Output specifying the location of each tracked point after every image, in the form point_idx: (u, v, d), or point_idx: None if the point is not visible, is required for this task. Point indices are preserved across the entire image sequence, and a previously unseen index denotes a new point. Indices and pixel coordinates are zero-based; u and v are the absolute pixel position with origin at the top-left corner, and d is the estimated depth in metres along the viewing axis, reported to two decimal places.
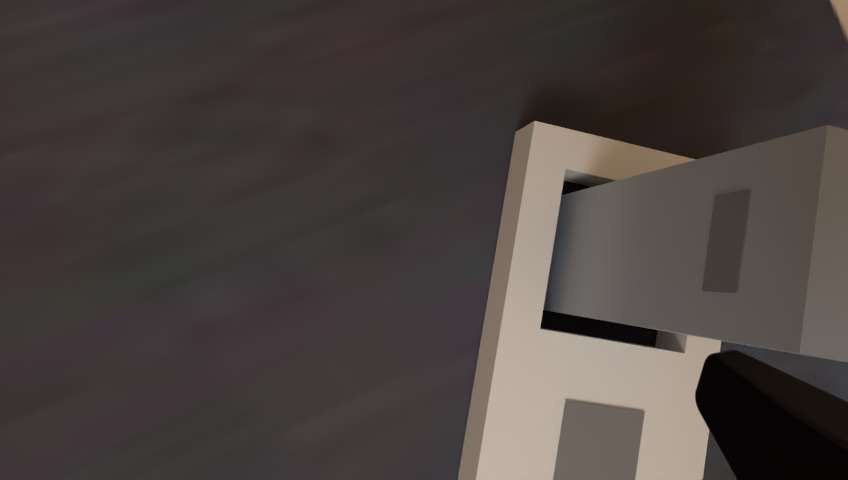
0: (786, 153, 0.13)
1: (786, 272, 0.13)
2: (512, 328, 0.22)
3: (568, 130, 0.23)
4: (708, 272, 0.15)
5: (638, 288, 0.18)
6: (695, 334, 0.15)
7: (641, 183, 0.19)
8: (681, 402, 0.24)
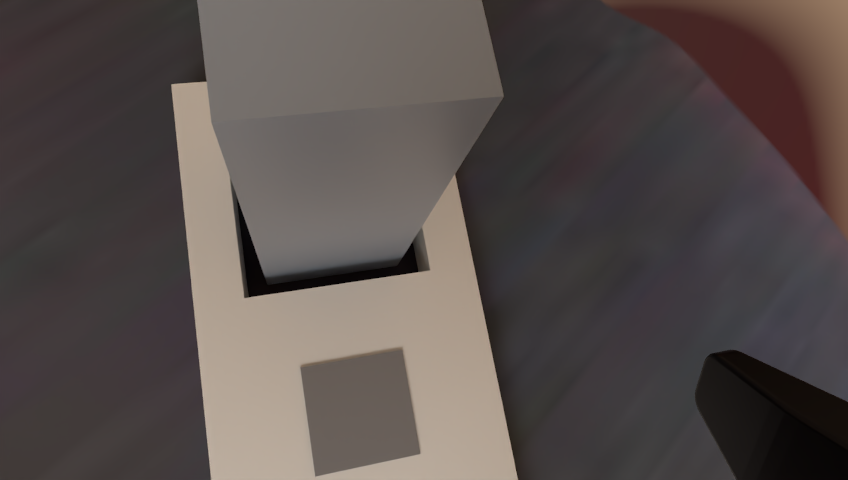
0: None
1: None
2: (209, 308, 0.19)
3: None
4: None
5: None
6: (235, 191, 0.12)
7: None
8: (444, 324, 0.20)
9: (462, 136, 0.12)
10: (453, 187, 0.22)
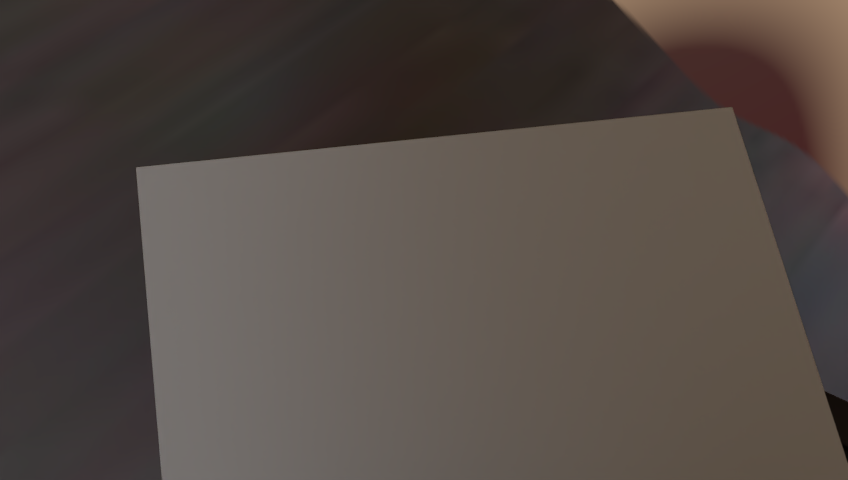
0: None
1: None
2: None
3: None
4: None
5: None
6: None
7: None
8: None
9: None
10: None
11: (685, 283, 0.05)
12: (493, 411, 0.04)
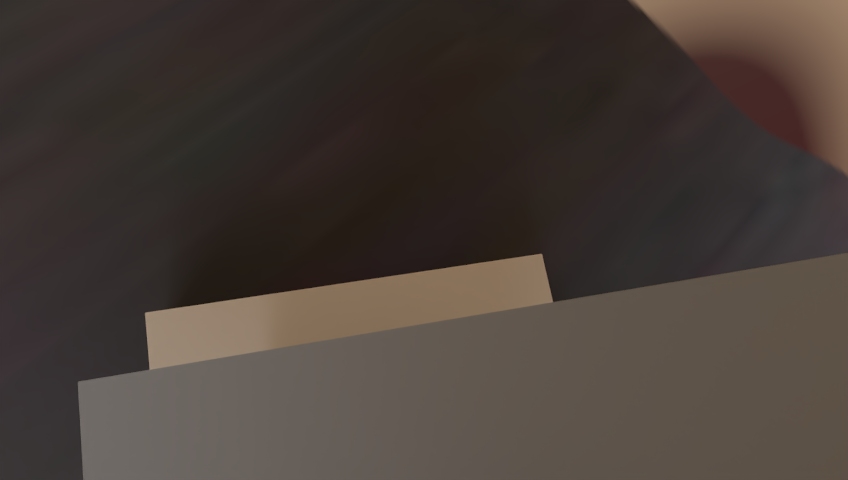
0: None
1: None
2: None
3: (213, 305, 0.13)
4: None
5: None
6: None
7: None
8: None
9: None
10: None
11: None
12: None
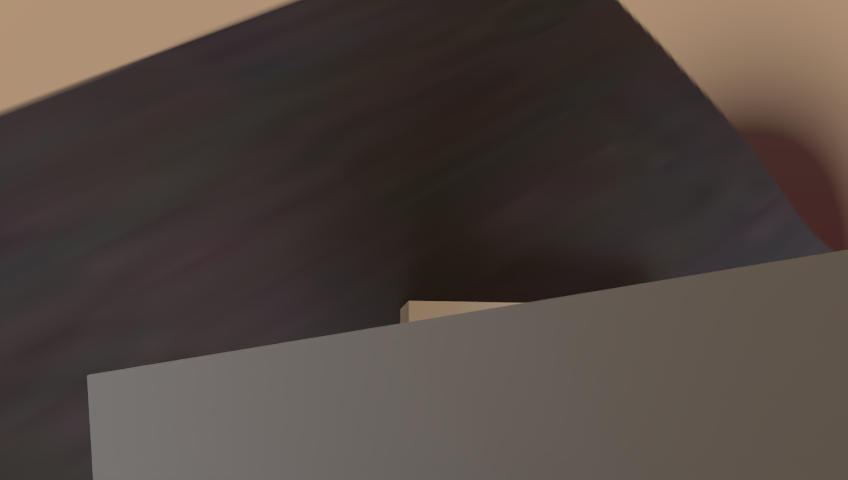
0: None
1: None
2: None
3: (449, 303, 0.21)
4: None
5: None
6: None
7: None
8: None
9: None
10: None
11: None
12: None
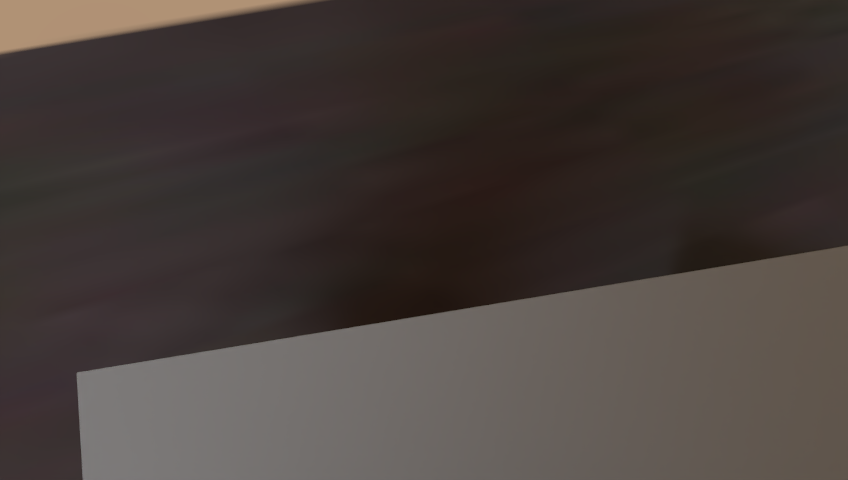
0: None
1: None
2: None
3: None
4: None
5: None
6: None
7: None
8: None
9: None
10: None
11: None
12: None
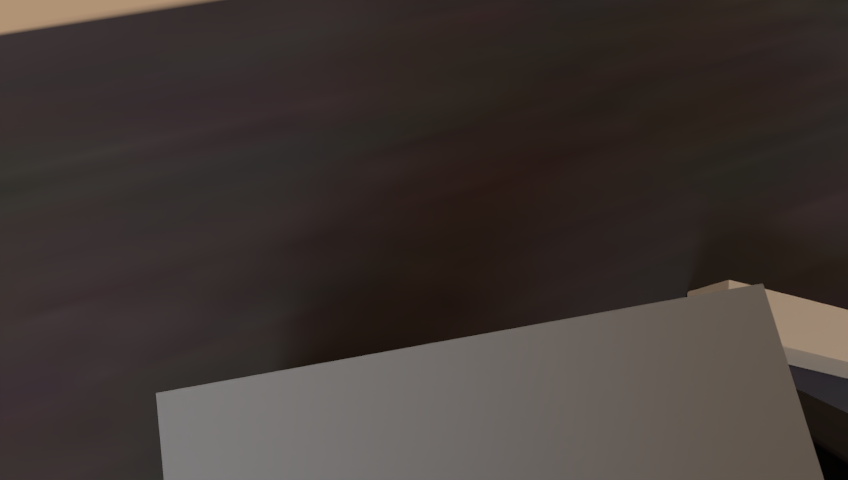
0: None
1: None
2: None
3: (773, 292, 0.18)
4: None
5: None
6: None
7: None
8: None
9: None
10: None
11: None
12: None
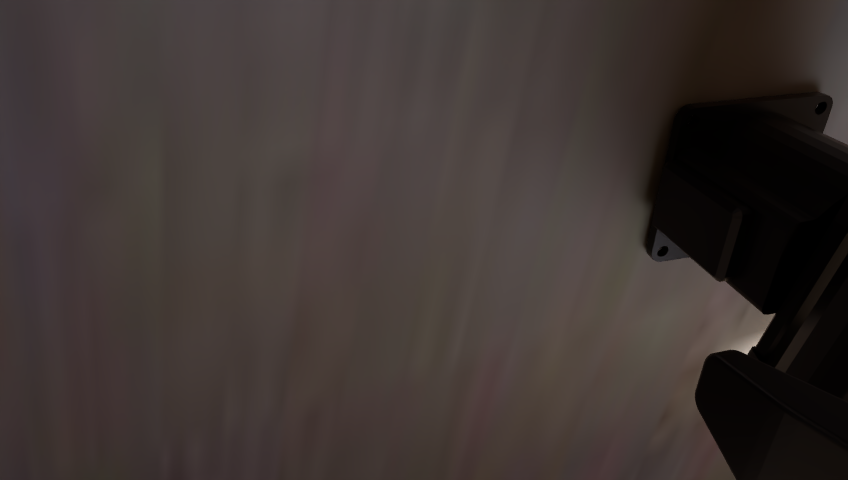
0: None
1: None
2: None
3: None
4: None
5: None
6: None
7: None
8: None
9: None
10: None
11: None
12: None
